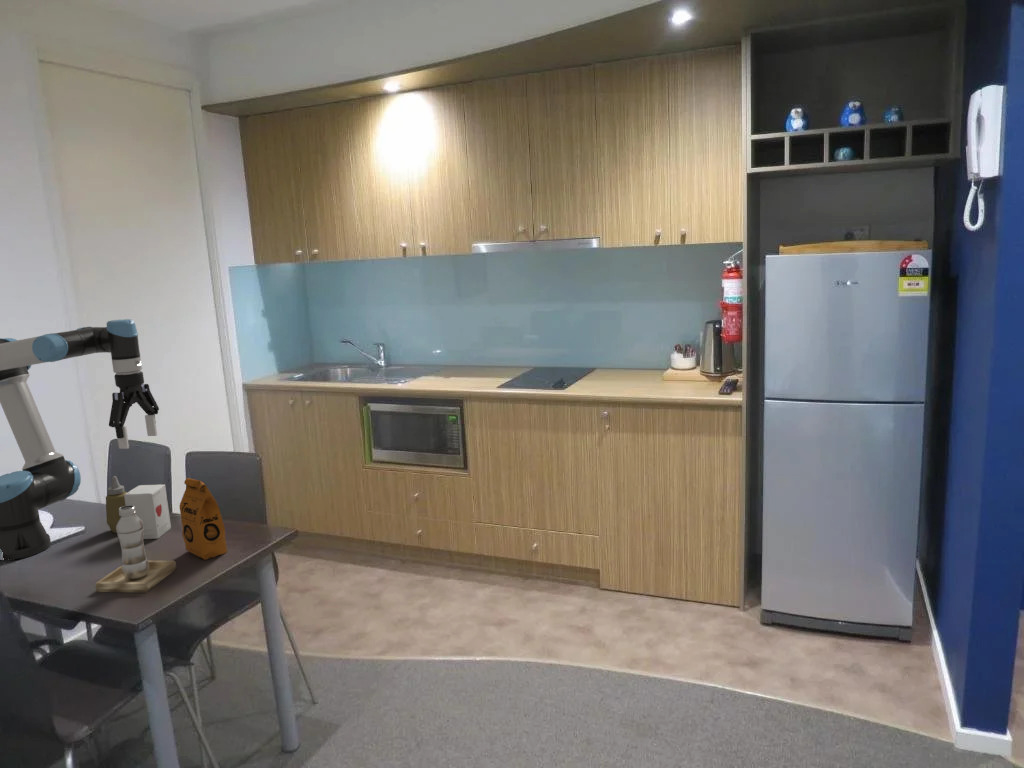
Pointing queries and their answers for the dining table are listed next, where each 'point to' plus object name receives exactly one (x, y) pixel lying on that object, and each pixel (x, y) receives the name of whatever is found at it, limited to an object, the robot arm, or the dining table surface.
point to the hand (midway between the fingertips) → (138, 441)
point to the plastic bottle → (132, 544)
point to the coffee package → (201, 521)
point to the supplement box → (150, 509)
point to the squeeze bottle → (114, 503)
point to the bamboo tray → (140, 585)
